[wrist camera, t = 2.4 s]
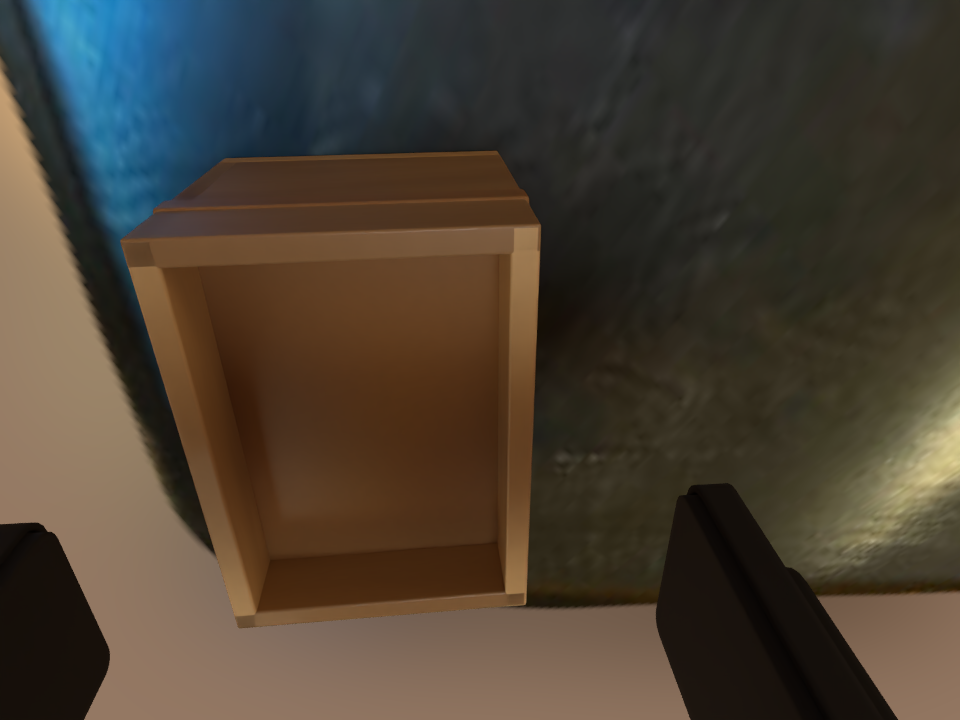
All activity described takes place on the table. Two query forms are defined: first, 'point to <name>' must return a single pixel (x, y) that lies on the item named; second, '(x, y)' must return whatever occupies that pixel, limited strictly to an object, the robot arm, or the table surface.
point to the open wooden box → (351, 377)
